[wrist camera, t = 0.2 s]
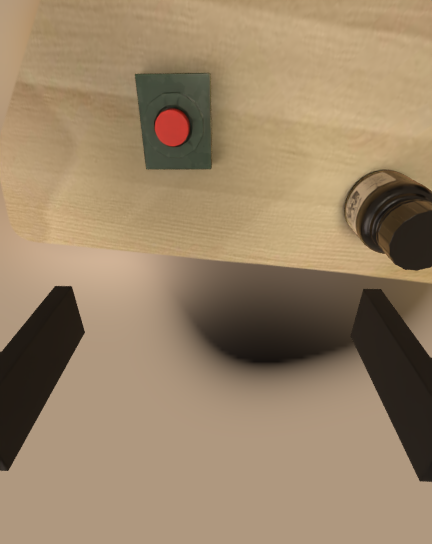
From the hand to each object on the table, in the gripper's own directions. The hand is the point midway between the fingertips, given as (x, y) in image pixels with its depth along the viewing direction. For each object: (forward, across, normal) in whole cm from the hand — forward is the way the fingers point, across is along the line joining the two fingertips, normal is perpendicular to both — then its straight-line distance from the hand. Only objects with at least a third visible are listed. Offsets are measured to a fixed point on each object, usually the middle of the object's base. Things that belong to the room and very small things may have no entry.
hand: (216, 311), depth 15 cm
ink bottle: (+31, +21, -5) cm, 37 cm away
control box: (+31, -5, +5) cm, 31 cm away
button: (+27, -5, +5) cm, 28 cm away
